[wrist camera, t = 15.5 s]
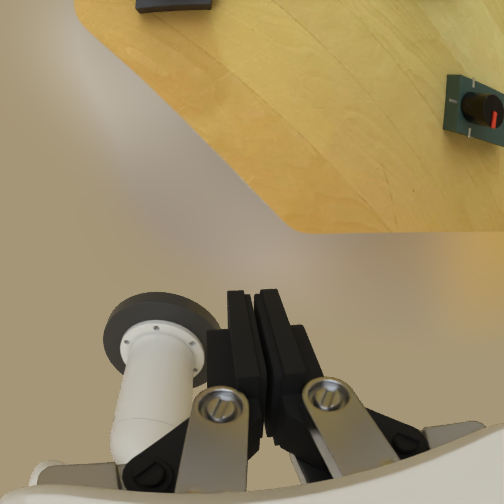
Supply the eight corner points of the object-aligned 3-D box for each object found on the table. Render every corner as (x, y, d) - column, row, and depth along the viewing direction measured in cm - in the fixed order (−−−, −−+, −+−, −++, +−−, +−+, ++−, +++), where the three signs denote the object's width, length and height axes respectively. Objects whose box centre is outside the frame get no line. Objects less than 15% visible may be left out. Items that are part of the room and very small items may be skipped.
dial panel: (499, 94, 34) (513, 96, 31) (494, 146, 37) (508, 150, 34) (437, 68, 32) (451, 68, 29) (432, 128, 36) (446, 132, 33)
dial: (462, 87, 30) (487, 89, 26) (483, 97, 31) (507, 101, 27) (458, 118, 32) (483, 123, 28) (479, 126, 33) (503, 133, 29)
